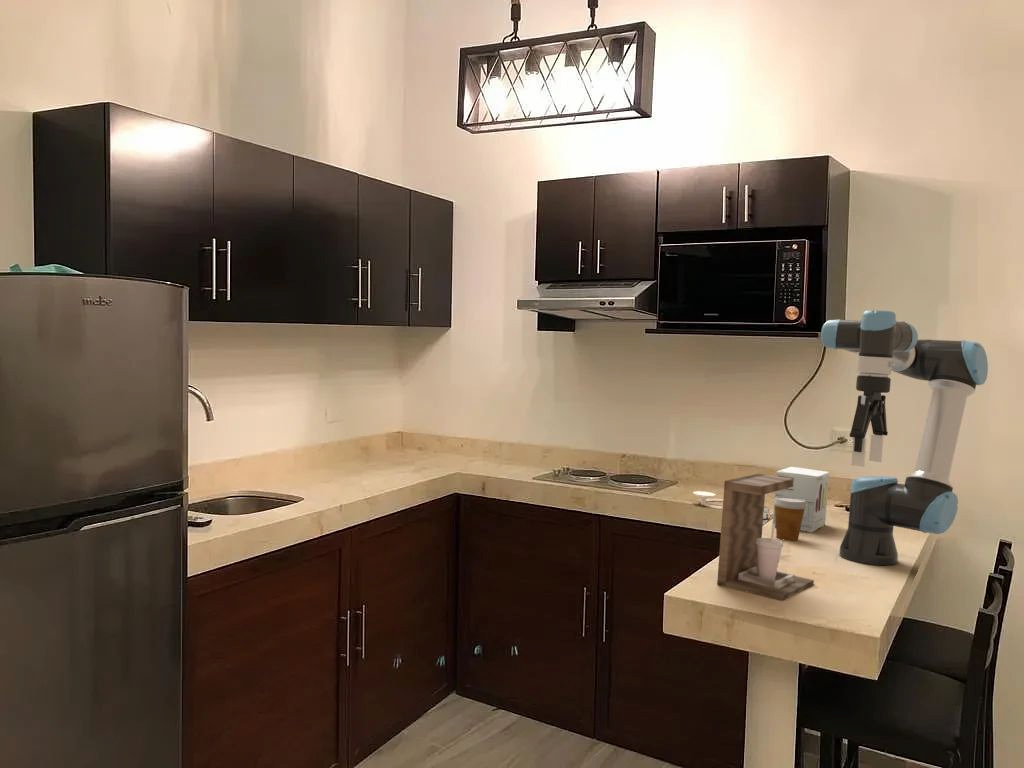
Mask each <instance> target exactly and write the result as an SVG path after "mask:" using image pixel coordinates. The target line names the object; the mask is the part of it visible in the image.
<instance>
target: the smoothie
mask: <svg viewBox="0 0 1024 768" xmlns="http://www.w3.org/2000/svg"><path fill="white" fill-rule="evenodd" d="M775 529H776V526H775V523H773V522H772V525H771V537H770V538H769V537H762V538H758V539H756V544H757V551H758V574H759V577H762V578H766V579H770V580H775V577H776V572H777V571H778V567H779V562H780V556H781V554H782V548H784V542H783V540H781V539H778V538H777V539H775Z"/></svg>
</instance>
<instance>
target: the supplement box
mask: <svg viewBox="0 0 1024 768" xmlns="http://www.w3.org/2000/svg"><path fill="white" fill-rule="evenodd" d="M830 474H831V473H830V471H825V470H819V469H810V468H803V467H796V466H789V467H785V468H782V469H780V470H777V471H776V475H775V476H778V477H785V478H791V479H793V487H790V488H786V489H782V490H779V491H775V492H774V501H775V498H776V497H793V498H799V499H803V500H805V503H806V507H805V509H804V514H803V518H802V523H801V528H800V530H801V531H800V532H806V531H807V533H811V532H812V533H813V532H815V531H816V530H819V529H820V527H821V528H823V527H824V525H825V526H826V521H827V519H826V518H827V506H828V493H829V492H828V491H829V484H830V483H829V481H830ZM774 501H773V502H774ZM773 505H774V504H773ZM772 523H775V527H776V517H775V505H774V506H773V515H772ZM818 528H819V529H818Z"/></svg>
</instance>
